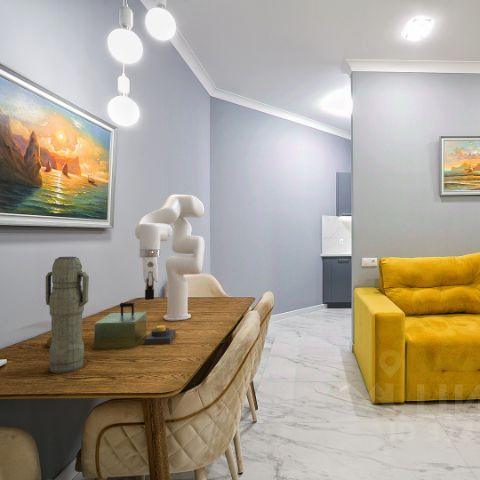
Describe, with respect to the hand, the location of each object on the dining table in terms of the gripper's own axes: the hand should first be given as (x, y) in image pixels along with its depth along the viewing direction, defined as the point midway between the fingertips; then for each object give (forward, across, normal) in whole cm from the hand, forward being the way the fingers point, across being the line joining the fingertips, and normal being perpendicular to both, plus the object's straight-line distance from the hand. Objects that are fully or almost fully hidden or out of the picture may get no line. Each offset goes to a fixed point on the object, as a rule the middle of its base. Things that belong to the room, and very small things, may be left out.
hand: (149, 299), depth 142 cm
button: (+12, -3, -4) cm, 14 cm away
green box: (+16, 0, +10) cm, 19 cm away
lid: (+7, 0, +9) cm, 12 cm away
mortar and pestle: (+16, +6, +31) cm, 35 cm away
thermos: (+16, -22, +24) cm, 37 cm away
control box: (+16, -3, -4) cm, 17 cm away
